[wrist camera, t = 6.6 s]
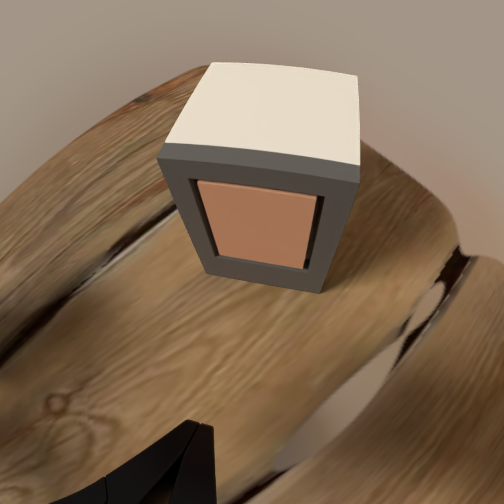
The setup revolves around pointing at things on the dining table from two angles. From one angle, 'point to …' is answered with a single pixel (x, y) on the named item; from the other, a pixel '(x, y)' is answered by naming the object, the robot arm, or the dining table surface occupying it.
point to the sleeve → (268, 157)
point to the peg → (259, 221)
